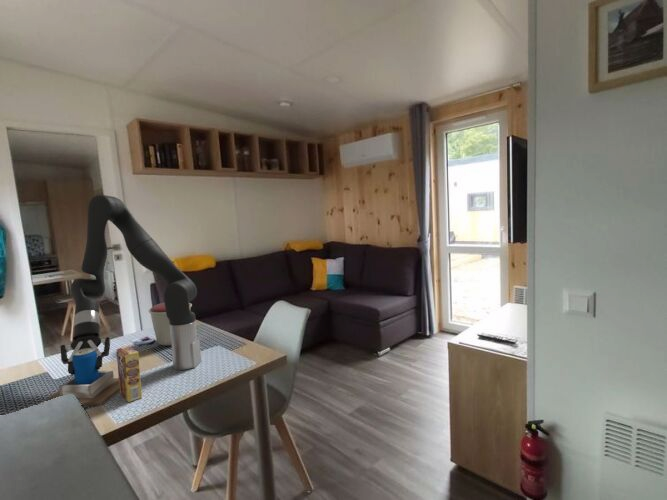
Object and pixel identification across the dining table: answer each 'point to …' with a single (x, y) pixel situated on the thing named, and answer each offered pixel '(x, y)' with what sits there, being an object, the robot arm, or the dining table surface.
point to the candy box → (129, 373)
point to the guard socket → (91, 390)
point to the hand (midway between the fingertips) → (85, 371)
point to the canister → (161, 323)
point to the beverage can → (85, 366)
